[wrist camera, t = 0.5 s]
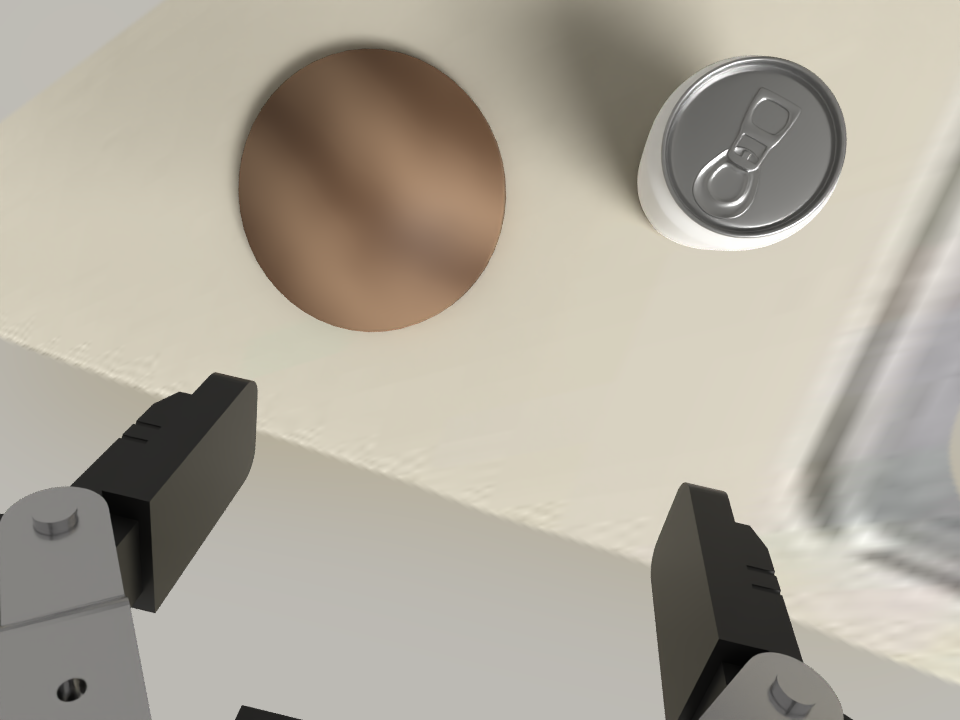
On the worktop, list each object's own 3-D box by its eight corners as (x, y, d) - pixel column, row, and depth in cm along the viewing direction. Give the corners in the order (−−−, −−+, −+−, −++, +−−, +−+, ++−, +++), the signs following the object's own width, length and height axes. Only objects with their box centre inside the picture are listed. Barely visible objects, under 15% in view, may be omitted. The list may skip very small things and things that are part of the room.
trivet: (322, 1, 37) (314, -5, 36) (558, 143, 36) (557, 140, 35) (206, 242, 40) (196, 242, 39) (420, 379, 39) (415, 382, 38)
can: (611, 207, 36) (609, 189, 24) (683, 84, 34) (719, 2, 22) (727, 273, 35) (783, 288, 23) (805, 152, 34) (907, 104, 22)
